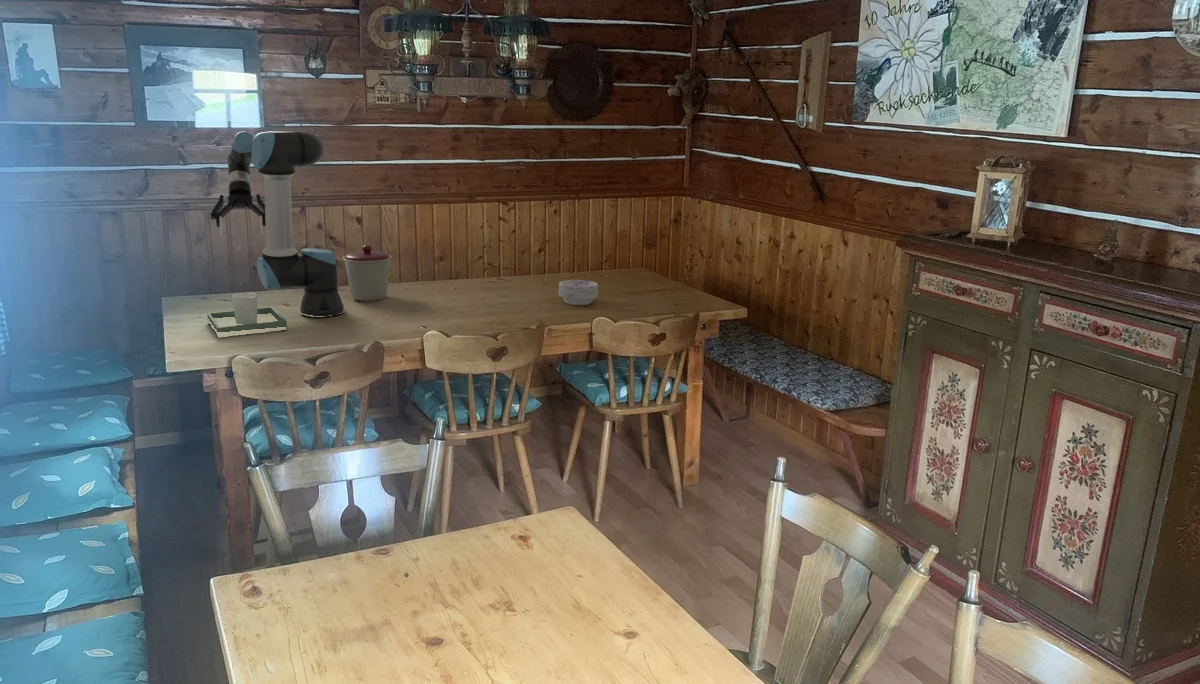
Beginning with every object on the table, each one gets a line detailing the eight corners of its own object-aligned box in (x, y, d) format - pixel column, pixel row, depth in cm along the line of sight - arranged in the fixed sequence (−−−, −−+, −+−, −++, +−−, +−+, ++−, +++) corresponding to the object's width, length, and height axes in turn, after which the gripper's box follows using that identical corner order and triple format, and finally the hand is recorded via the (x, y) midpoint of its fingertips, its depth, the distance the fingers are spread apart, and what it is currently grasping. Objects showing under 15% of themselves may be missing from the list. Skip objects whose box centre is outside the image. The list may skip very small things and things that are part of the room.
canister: (342, 304, 345) (338, 249, 340) (348, 293, 363) (345, 240, 357) (391, 304, 348) (388, 249, 342) (395, 293, 365) (393, 240, 359)
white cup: (229, 324, 310) (226, 295, 308) (248, 319, 317) (245, 291, 314) (245, 328, 307) (243, 299, 304) (264, 323, 313) (262, 294, 311)
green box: (273, 316, 326) (272, 306, 325) (287, 330, 309) (286, 320, 308) (208, 323, 316) (207, 313, 315) (218, 338, 298) (217, 327, 297)
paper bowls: (592, 297, 365) (592, 278, 363) (602, 306, 351) (602, 286, 349) (554, 299, 361) (555, 279, 359) (563, 308, 347) (563, 287, 345)
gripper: (275, 191, 346) (279, 238, 337) (204, 193, 338) (205, 240, 329) (274, 179, 340) (277, 225, 330) (201, 180, 332) (202, 227, 322)
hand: (241, 233), depth 330 cm, fingers open, 13 cm apart
